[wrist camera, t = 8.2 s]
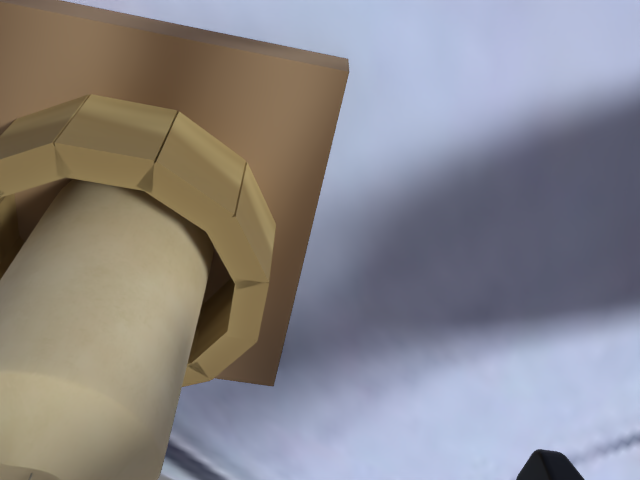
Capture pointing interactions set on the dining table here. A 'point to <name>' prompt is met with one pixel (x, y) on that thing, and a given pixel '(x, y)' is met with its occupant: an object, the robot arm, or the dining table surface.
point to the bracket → (175, 152)
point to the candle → (98, 335)
